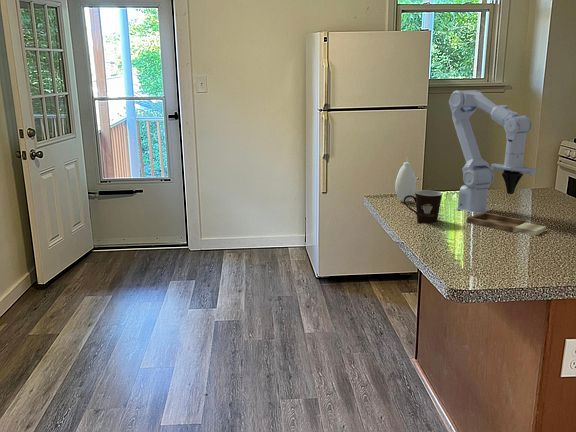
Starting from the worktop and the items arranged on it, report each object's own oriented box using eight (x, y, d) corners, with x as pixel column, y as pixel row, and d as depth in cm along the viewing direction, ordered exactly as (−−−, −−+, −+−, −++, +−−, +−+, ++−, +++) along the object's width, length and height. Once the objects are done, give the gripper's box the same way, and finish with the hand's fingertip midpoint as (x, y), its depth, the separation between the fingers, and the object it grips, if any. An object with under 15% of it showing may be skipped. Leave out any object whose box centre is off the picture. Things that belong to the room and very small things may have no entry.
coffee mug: (444, 221, 182) (446, 192, 179) (432, 227, 176) (434, 197, 173) (414, 215, 190) (415, 187, 187) (401, 220, 184) (402, 191, 181)
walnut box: (466, 224, 179) (467, 217, 179) (483, 218, 186) (483, 212, 186) (510, 233, 168) (511, 227, 168) (526, 227, 176) (526, 220, 175)
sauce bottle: (416, 204, 206) (419, 157, 202) (396, 204, 206) (398, 157, 202) (412, 199, 214) (415, 154, 209) (392, 199, 214) (395, 154, 209)
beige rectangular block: (514, 234, 169) (515, 226, 169) (524, 229, 174) (525, 222, 174) (535, 238, 165) (536, 231, 164) (545, 233, 170) (546, 226, 169)
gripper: (488, 152, 180) (484, 191, 184) (531, 156, 170) (526, 198, 173) (498, 150, 185) (494, 188, 188) (540, 154, 174) (535, 195, 178)
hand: (510, 193), depth 181 cm, fingers closed
